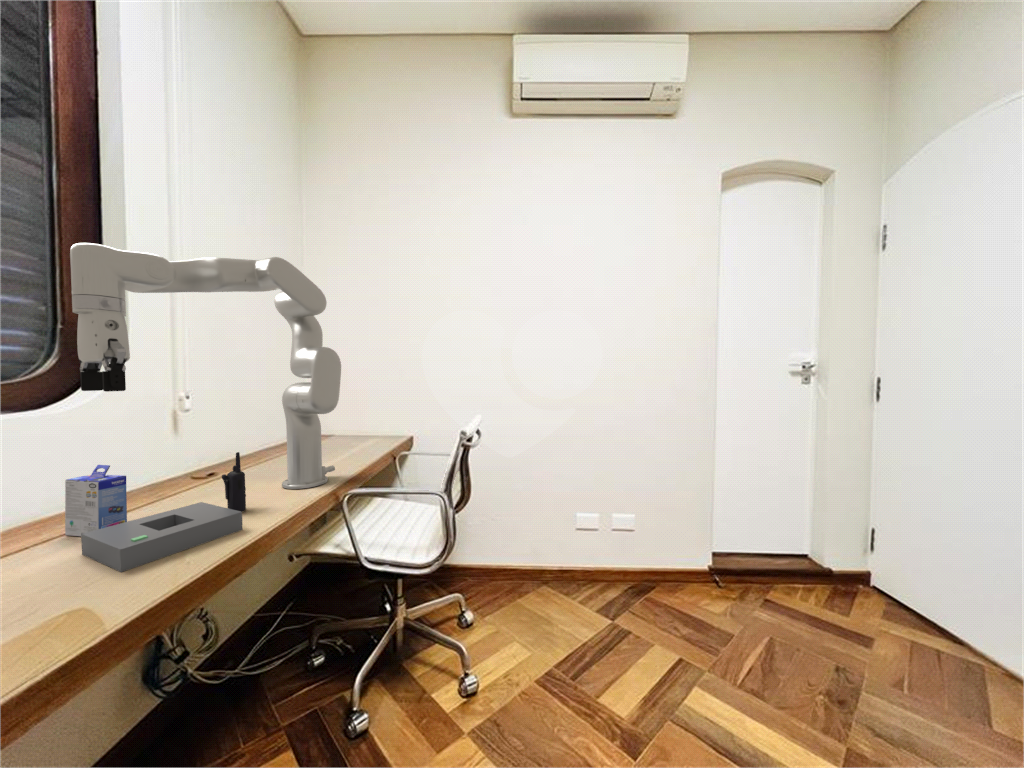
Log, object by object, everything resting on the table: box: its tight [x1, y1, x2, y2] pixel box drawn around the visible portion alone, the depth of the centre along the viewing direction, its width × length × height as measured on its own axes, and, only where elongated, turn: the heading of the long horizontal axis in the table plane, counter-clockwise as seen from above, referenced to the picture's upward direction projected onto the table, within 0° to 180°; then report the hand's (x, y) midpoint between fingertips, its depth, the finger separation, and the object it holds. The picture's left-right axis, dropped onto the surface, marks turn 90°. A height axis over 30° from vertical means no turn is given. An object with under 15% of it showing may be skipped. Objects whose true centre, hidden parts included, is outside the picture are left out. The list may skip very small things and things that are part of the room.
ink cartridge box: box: [64, 464, 128, 537], centre depth 85 cm, size 10×6×14 cm, turn 78°
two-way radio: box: [221, 451, 247, 513], centre depth 97 cm, size 6×4×15 cm
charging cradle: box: [80, 501, 244, 573], centre depth 80 cm, size 20×16×4 cm
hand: (103, 390), depth 80 cm, fingers open, 9 cm apart
